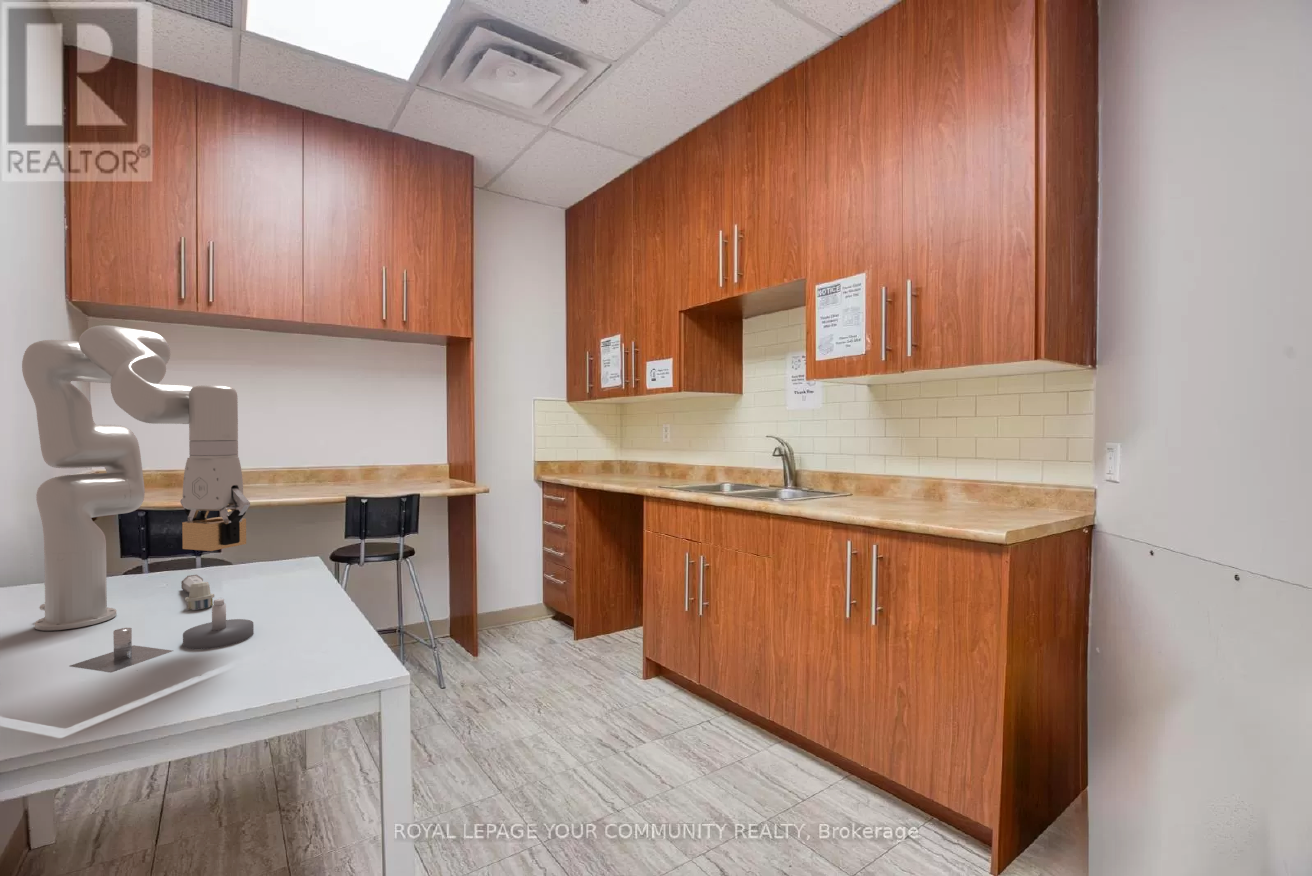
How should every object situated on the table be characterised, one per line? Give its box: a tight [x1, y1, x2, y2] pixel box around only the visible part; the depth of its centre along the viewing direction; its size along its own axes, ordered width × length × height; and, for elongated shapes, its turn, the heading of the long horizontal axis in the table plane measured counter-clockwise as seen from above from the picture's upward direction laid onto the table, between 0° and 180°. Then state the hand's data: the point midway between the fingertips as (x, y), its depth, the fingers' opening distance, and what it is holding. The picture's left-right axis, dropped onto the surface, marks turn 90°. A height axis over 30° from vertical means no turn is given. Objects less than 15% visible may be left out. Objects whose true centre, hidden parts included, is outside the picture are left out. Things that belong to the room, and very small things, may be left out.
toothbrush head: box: [180, 574, 215, 611], centre depth 145 cm, size 5×7×25 cm
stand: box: [69, 627, 174, 673], centre depth 105 cm, size 10×10×6 cm
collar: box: [181, 516, 247, 552], centre depth 114 cm, size 7×7×5 cm
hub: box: [182, 598, 255, 650], centre depth 115 cm, size 11×11×8 cm
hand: (215, 542), depth 114 cm, fingers closed on collar, 7 cm apart
